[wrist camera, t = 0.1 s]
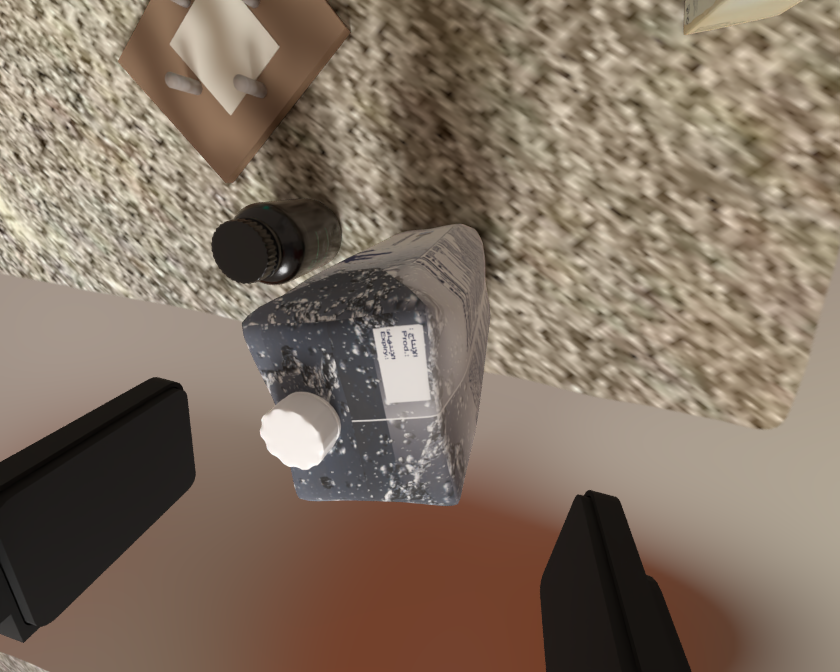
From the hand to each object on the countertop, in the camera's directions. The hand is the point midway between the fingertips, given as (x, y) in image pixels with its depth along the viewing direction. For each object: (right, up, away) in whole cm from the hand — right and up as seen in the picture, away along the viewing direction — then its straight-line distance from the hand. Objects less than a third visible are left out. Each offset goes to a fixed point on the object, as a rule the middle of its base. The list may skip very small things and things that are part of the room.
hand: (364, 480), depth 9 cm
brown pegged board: (-16, +29, +26) cm, 42 cm away
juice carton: (+4, +9, +30) cm, 32 cm away
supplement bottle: (-10, +14, +31) cm, 36 cm away
